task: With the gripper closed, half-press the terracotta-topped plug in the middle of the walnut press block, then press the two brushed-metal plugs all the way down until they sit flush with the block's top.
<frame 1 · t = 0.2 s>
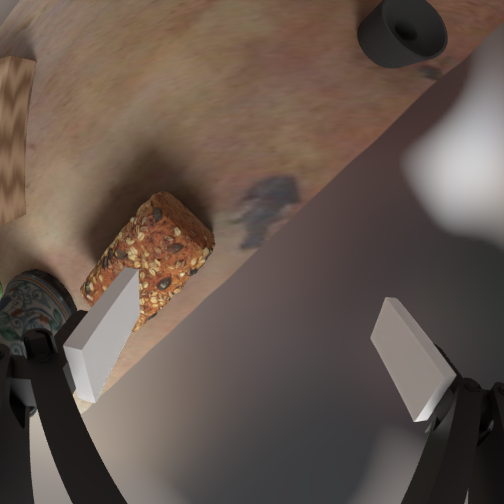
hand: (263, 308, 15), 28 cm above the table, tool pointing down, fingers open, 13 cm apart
bread: (153, 254, 44), on the table
beer stein: (50, 312, 48), on the table
pen holder: (383, 42, 33), on the table
press block: (0, 139, 36), on the table
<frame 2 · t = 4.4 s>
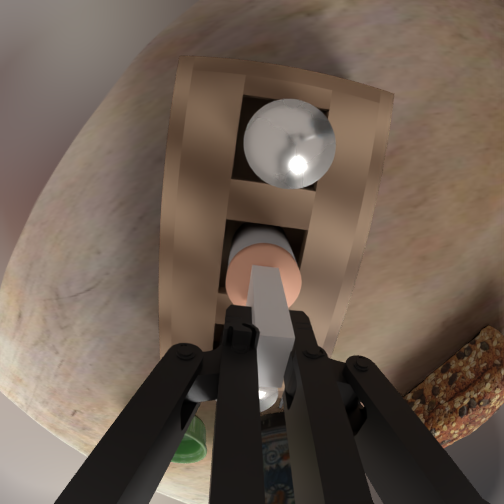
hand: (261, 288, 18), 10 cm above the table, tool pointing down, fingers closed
bread: (449, 375, 36), on the table
beer stein: (291, 444, 39), on the table
plug 2: (246, 364, 22), point 8 cm above the table, slide at 0.0 cm
plug 1: (283, 142, 17), point 8 cm above the table, slide at 0.0 cm
plug terracotta: (261, 262, 21), point 7 cm above the table, slide at 1.3 cm, touching gripper
ramekin: (177, 423, 37), on the table
press block: (258, 232, 27), on the table
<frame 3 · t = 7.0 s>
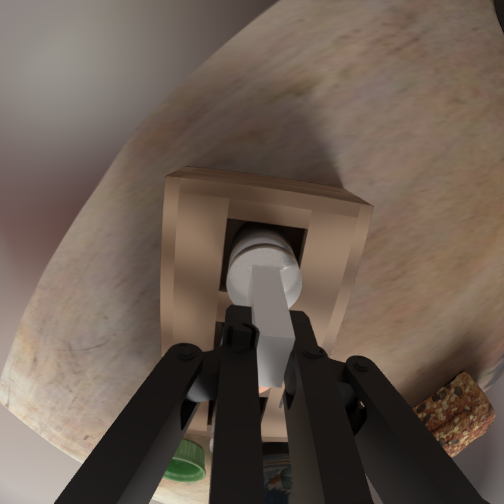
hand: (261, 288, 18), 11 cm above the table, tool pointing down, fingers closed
bread: (427, 411, 39), on the table
beer stein: (281, 465, 42), on the table
plug 2: (235, 422, 25), point 8 cm above the table, slide at 0.0 cm
plug 1: (262, 262, 21), point 7 cm above the table, slide at 1.0 cm, touching gripper
plug terracotta: (246, 349, 24), point 7 cm above the table, slide at 1.7 cm
ramekin: (180, 448, 41), on the table
press block: (246, 307, 30), on the table
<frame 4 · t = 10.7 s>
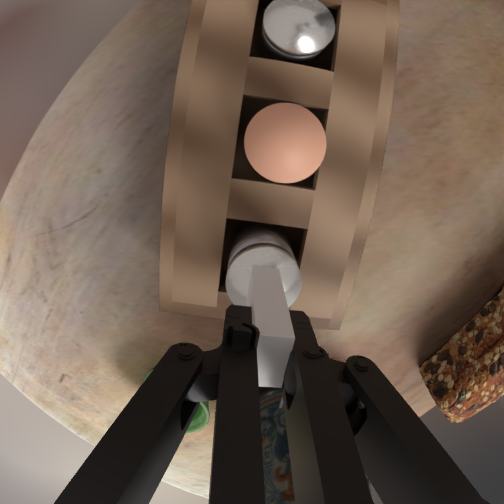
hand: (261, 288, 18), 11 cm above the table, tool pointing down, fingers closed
bread: (472, 338, 34), on the table
beer stein: (305, 412, 37), on the table
plug 2: (261, 262, 21), point 7 cm above the table, slide at 1.1 cm, touching gripper
plug 1: (292, 37, 17), point 5 cm above the table, slide at 3.5 cm
plug terracotta: (279, 142, 18), point 7 cm above the table, slide at 1.7 cm
ramekin: (176, 385, 35), on the table
press block: (271, 141, 25), on the table
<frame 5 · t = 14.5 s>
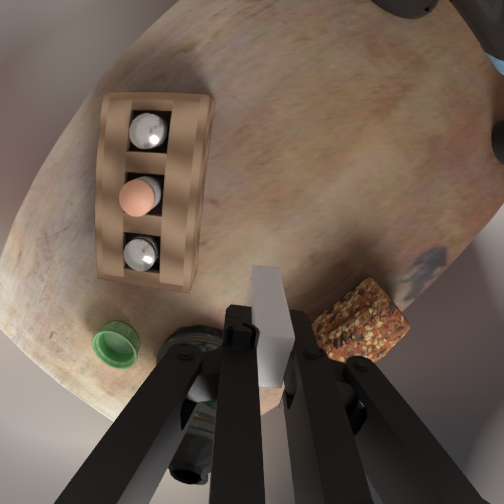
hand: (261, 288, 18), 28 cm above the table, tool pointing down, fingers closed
bread: (343, 322, 53), on the table
beer stein: (207, 363, 55), on the table
plug 2: (146, 247, 41), point 5 cm above the table, slide at 3.5 cm
plug 1: (153, 131, 36), point 5 cm above the table, slide at 3.5 cm
pen holder: (503, 142, 40), on the table
plug terracotta: (144, 193, 37), point 7 cm above the table, slide at 1.7 cm
ramekin: (121, 336, 53), on the table
press block: (157, 185, 43), on the table
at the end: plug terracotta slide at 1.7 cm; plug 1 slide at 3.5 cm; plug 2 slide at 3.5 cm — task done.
